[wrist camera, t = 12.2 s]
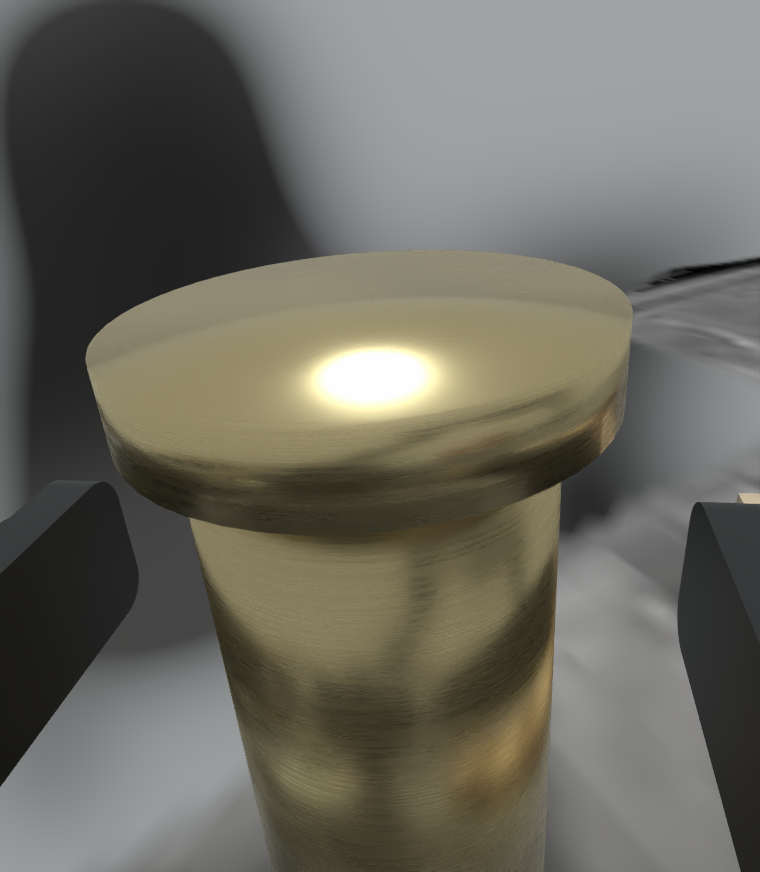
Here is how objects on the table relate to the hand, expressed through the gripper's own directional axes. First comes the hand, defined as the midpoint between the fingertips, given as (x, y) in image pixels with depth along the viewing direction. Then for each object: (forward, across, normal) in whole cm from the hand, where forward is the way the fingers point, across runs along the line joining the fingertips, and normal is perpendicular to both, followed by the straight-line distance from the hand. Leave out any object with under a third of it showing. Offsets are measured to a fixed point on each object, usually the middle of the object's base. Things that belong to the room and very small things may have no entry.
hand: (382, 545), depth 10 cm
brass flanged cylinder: (-1, 0, +8) cm, 8 cm away
